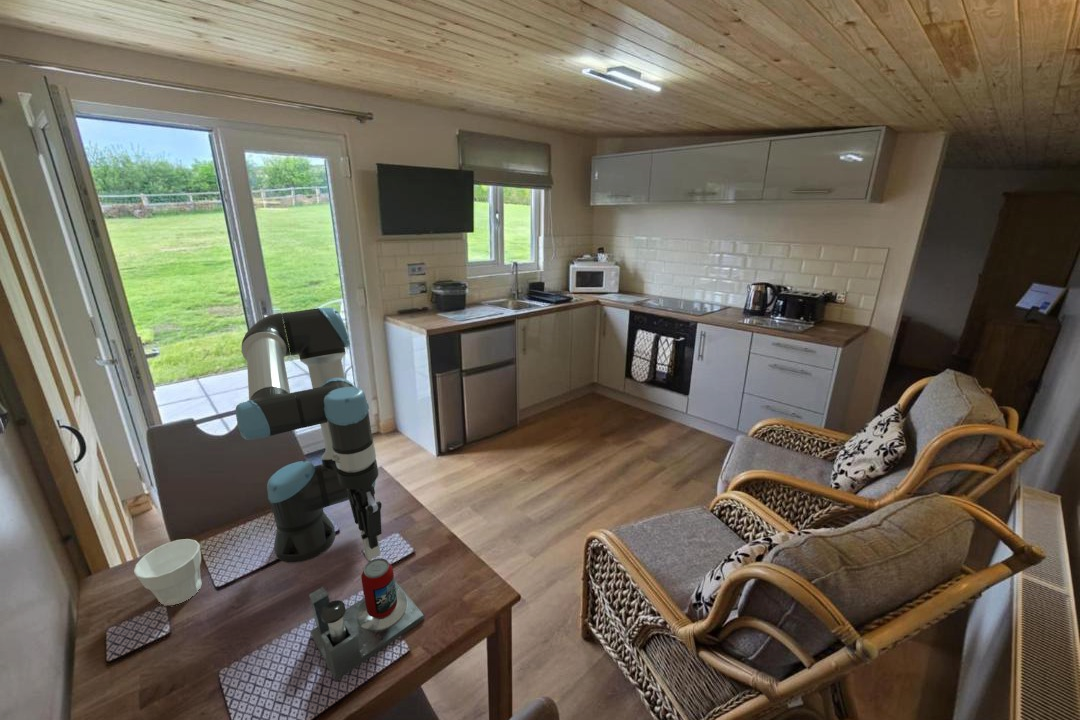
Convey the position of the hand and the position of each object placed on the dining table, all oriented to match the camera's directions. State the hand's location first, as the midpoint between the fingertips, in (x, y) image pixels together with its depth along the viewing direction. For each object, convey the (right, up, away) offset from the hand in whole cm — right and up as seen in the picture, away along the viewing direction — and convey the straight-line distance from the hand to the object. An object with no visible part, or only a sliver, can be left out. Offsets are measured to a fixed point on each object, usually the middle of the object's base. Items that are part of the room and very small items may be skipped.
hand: (372, 555), depth 98 cm
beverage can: (0, -15, +6) cm, 16 cm away
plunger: (-4, -15, -6) cm, 17 cm away
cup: (-52, -15, +12) cm, 55 cm away
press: (-2, -18, +3) cm, 18 cm away
